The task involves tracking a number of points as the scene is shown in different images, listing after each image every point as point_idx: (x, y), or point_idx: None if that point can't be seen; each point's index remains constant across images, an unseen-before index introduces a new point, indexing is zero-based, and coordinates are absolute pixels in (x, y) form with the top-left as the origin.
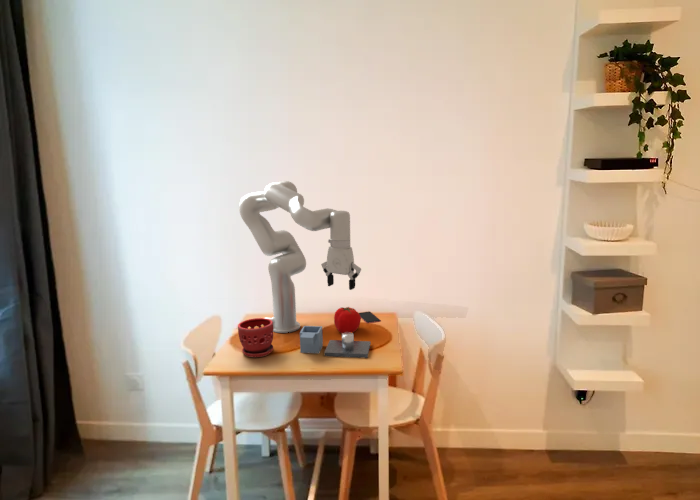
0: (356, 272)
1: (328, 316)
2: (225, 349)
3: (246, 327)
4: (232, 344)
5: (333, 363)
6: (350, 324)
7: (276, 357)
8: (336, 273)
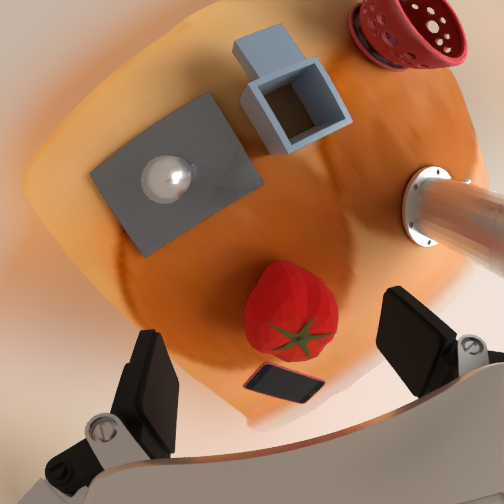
0: (52, 495)
1: None
2: None
3: (450, 41)
4: None
5: (152, 78)
6: (255, 293)
7: (323, 29)
8: (365, 424)
